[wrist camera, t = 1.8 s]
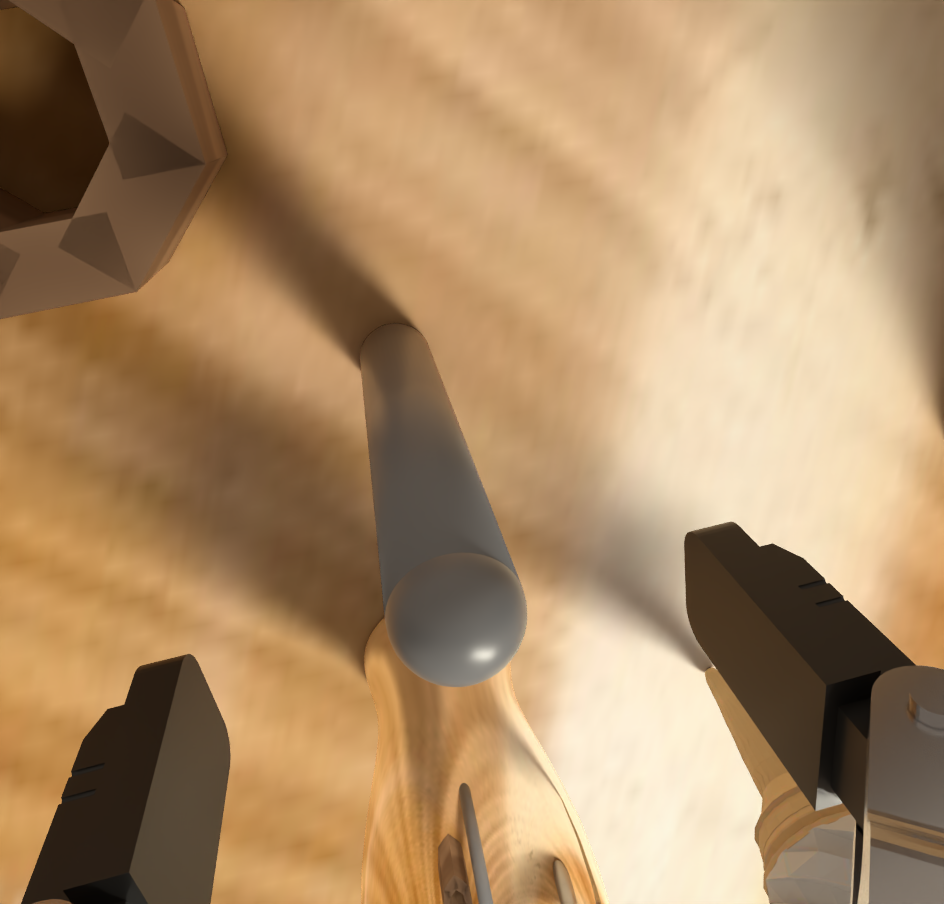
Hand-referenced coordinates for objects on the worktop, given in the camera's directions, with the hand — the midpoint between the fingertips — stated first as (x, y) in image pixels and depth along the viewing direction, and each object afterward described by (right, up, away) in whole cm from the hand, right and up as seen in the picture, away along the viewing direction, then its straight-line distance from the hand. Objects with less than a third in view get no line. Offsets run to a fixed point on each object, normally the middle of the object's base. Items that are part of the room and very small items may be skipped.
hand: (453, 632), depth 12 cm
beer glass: (-1, -5, +19) cm, 20 cm away
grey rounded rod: (-2, +6, +13) cm, 15 cm away
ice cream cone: (+11, -7, +22) cm, 26 cm away
